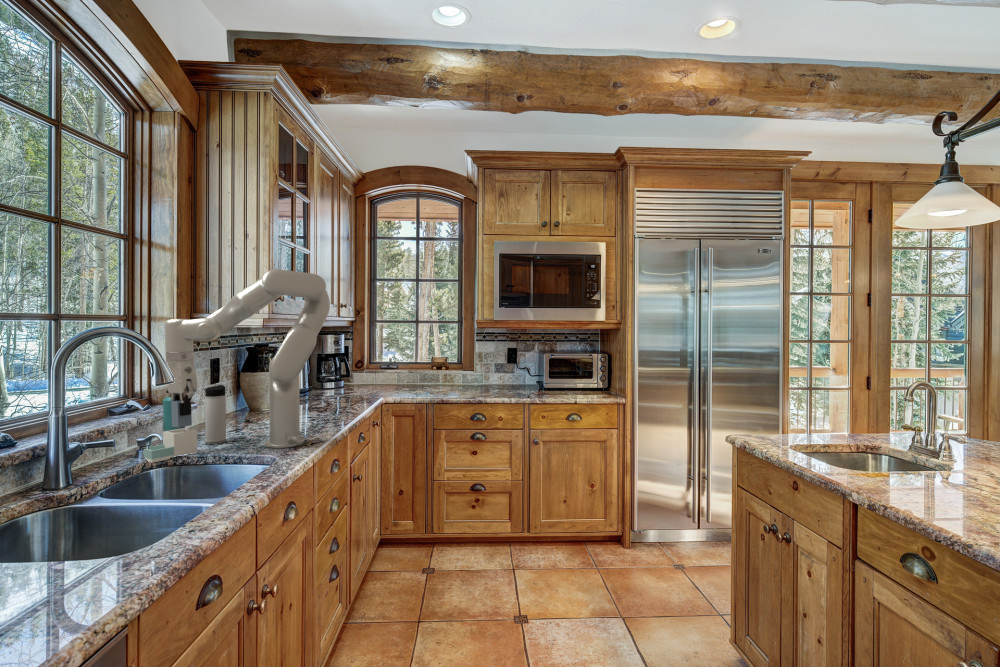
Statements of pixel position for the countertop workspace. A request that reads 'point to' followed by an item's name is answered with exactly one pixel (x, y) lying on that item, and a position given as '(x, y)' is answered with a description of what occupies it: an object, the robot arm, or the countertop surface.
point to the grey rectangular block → (176, 418)
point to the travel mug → (215, 415)
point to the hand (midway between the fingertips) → (181, 414)
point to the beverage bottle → (168, 414)
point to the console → (173, 445)
